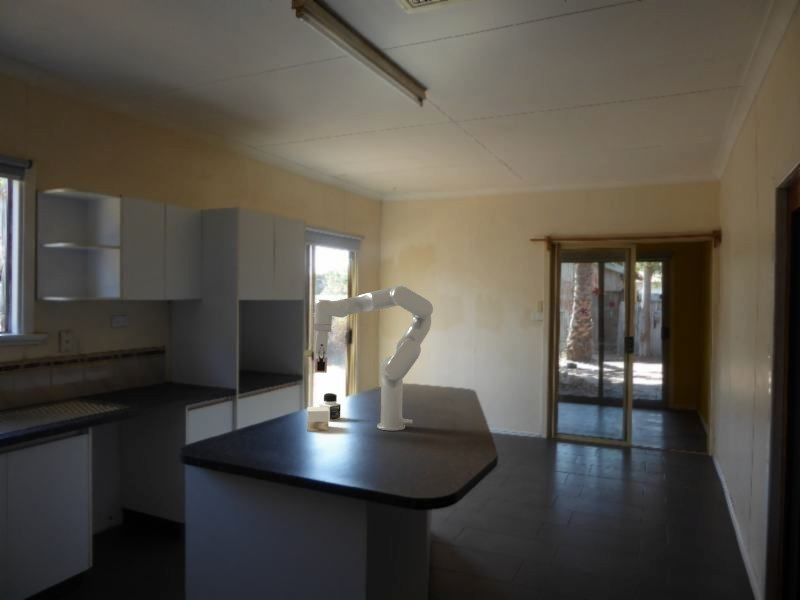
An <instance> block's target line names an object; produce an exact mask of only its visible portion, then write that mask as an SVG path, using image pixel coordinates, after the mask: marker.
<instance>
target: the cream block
mask: <svg viewBox="0 0 800 600" xmlns="http://www.w3.org/2000/svg"><path fill="white" fill-rule="evenodd" d="M306 414H307V422H328V423H329V422H330V421H329V409H328V407H320V406H308V407H307V413H306ZM307 422H306V423H307Z"/></svg>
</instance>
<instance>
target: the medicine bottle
mask: <svg viewBox="0 0 800 600" xmlns="http://www.w3.org/2000/svg"><path fill="white" fill-rule="evenodd" d="M337 397H338V396H337V394H336V393H335V392H334V393H333V392H332V393H331V392H329V393H328V392H327V393H325V394H324V395H323V403H320V404H319V407H328V409H329V422H332V421H333V422H334V421H337V420H340V419H341V403H337V400H338V398H337Z"/></svg>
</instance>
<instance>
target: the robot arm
mask: <svg viewBox="0 0 800 600" xmlns="http://www.w3.org/2000/svg"><path fill="white" fill-rule="evenodd" d="M397 306H399V307H401V308H402V309H404V310H405V311H407V312H409V313H410V314H412V322H411V323H410V325H409V327H408V329H407V330H406V331H405V333H404V334H403V336H402V337H401V338H400V339H399V341H398V342H397V344H396V351H395V352H394V353H393V355H392V356H388V357H386V358H385V359H383V361H382V363H381V365H380V378H381V379H380V380H381V388H380V391H381V392H380V422H379V423H377V425H376V428H377V429H379V430H382V431H388V432H389V431H391V432H392V431H393V432H396V431H402V430H405V429H406V425H413V419H409V418H404V417H403V393H404V390H403V389H404V388H403V387H404V382H403V381H404V378H405V377H406V375H407V374H408V373H409V372H410V370H411V369H412V367H413V366H414V365H415V363H416V362H417V360H418V358H419V357H420V354H421V350H422V347H421V345H422V343H423V342H424V340H425V339H426V337H427V335H428V334H429V333H430V332H429V331H430V330H431V325H432V314H433V312H434V307H433V304H432V302H431V301H430V300H428V299H427V298H425V297H423V296H421V295H420V294H418V293H416V292H415V291H413V290H411V289H410V288H407V287H406V286H403V285H398V286H391V287H388V288H384V289H379V290H375V291H369V292H366V293H364V294H360V295H357V296H356V295H355V296H352V297H347V298H342V299H338V300H330V299H329V300H328V299H316V301H315V303H314V323H313V324H314V325H313V332H315V342H314V343H315V344H314V345H315V347H314V350H315V351H314V354H315V355H317V354H318V356H317V357H318V362H317V371H325V362H324V360H325V356H326V355H327V352H328V345H329V333H332V324H333V317H335V318H345V317H347V316H349V315H350V316H351V315H353V314H359V313H364V312H376V311H379V310H385V309H389V308H393V307H397Z"/></svg>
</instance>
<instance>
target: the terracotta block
mask: <svg viewBox="0 0 800 600" xmlns="http://www.w3.org/2000/svg"><path fill="white" fill-rule="evenodd" d="M317 362H318V356H316V357H315V363H314V364H315V365H314V372H315V373H325V374H326V373H328V369H327V368H328V357H325V360H324V362H325V371H317Z"/></svg>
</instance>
